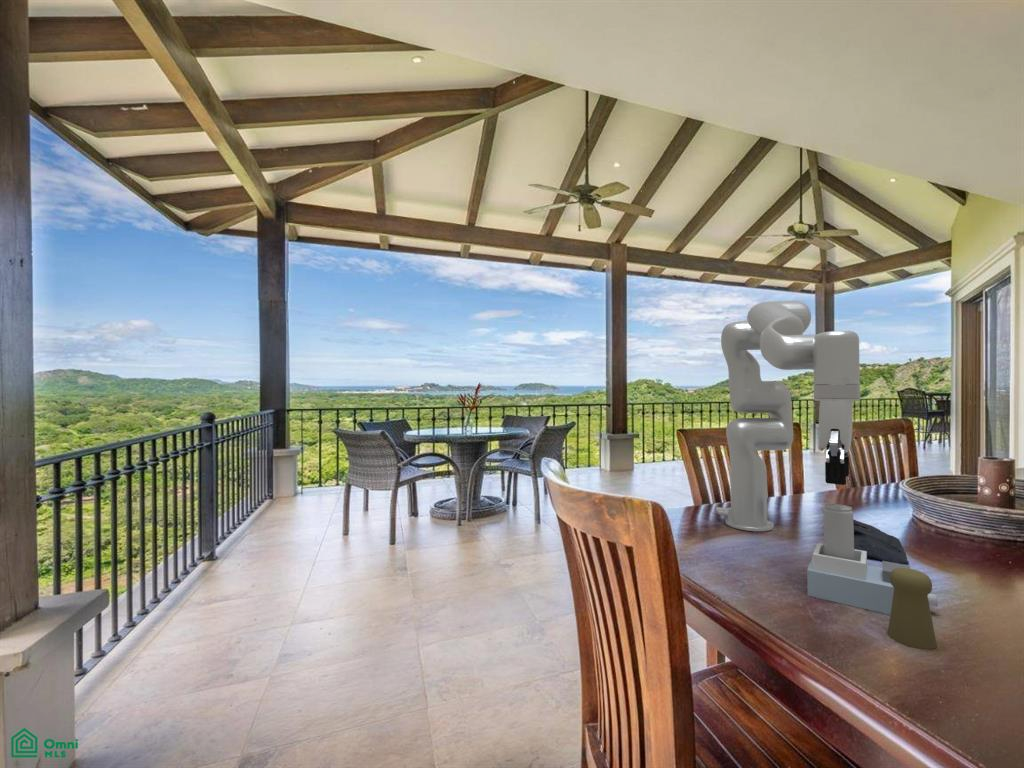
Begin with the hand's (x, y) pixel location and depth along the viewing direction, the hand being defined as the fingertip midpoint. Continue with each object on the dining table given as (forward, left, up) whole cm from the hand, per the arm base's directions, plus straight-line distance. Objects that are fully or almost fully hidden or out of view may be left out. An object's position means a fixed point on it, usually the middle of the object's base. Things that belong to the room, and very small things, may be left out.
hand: (837, 479), depth 91 cm
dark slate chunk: (+4, +35, -23) cm, 42 cm away
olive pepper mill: (+10, -14, -23) cm, 28 cm away
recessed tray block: (+5, -1, -22) cm, 23 cm away
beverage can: (0, -1, -17) cm, 17 cm away
